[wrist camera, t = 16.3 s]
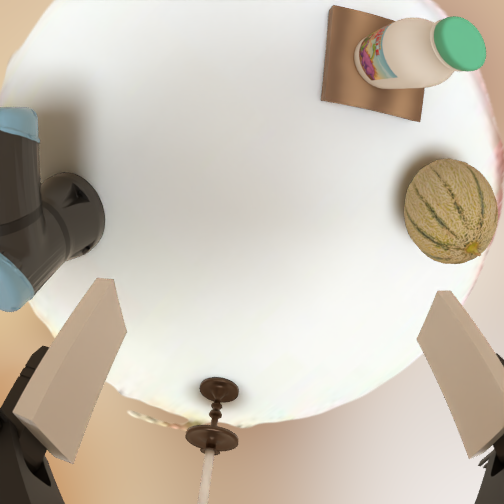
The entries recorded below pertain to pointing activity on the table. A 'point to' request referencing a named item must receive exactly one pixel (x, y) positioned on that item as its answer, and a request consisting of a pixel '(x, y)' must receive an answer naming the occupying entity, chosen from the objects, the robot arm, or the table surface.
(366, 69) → the milk bottle
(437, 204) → the cantaloupe
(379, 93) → the block
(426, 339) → the robot arm
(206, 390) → the candlestick
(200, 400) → the table surface
